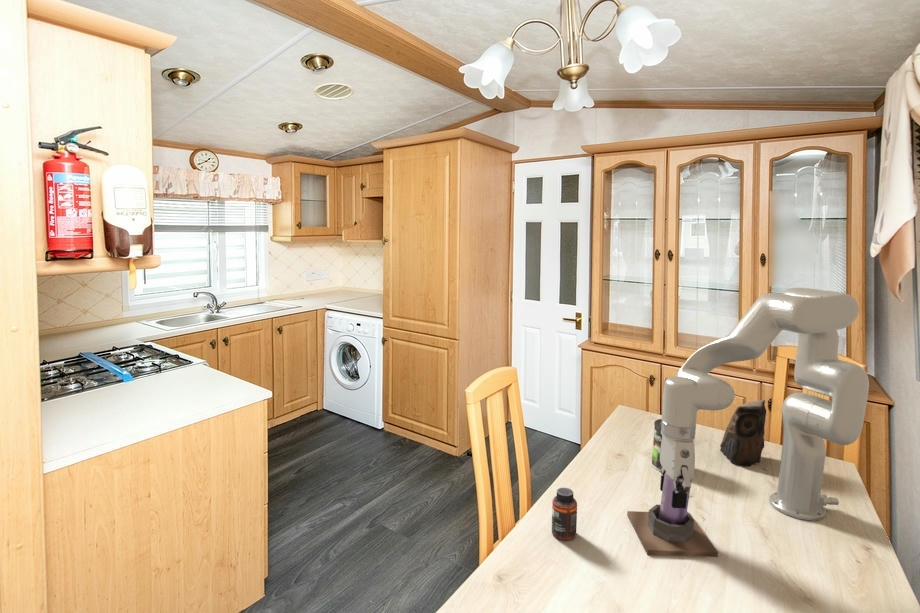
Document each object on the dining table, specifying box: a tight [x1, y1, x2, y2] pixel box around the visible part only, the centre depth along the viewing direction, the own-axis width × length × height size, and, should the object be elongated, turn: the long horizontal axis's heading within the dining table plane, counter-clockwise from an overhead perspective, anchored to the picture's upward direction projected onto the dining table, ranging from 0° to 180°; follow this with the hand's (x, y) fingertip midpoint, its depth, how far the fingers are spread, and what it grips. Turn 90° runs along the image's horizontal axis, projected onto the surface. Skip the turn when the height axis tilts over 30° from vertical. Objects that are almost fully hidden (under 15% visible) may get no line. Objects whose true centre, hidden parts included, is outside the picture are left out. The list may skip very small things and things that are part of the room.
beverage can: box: [659, 472, 692, 525], centre depth 122 cm, size 6×6×15 cm
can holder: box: [626, 504, 719, 558], centre depth 123 cm, size 16×16×5 cm
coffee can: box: [650, 418, 662, 473], centre depth 158 cm, size 10×10×14 cm
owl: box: [719, 399, 767, 468], centre depth 162 cm, size 13×13×20 cm
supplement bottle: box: [551, 487, 578, 541], centre depth 123 cm, size 6×6×11 cm
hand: (672, 498), depth 122 cm, fingers open, 6 cm apart
